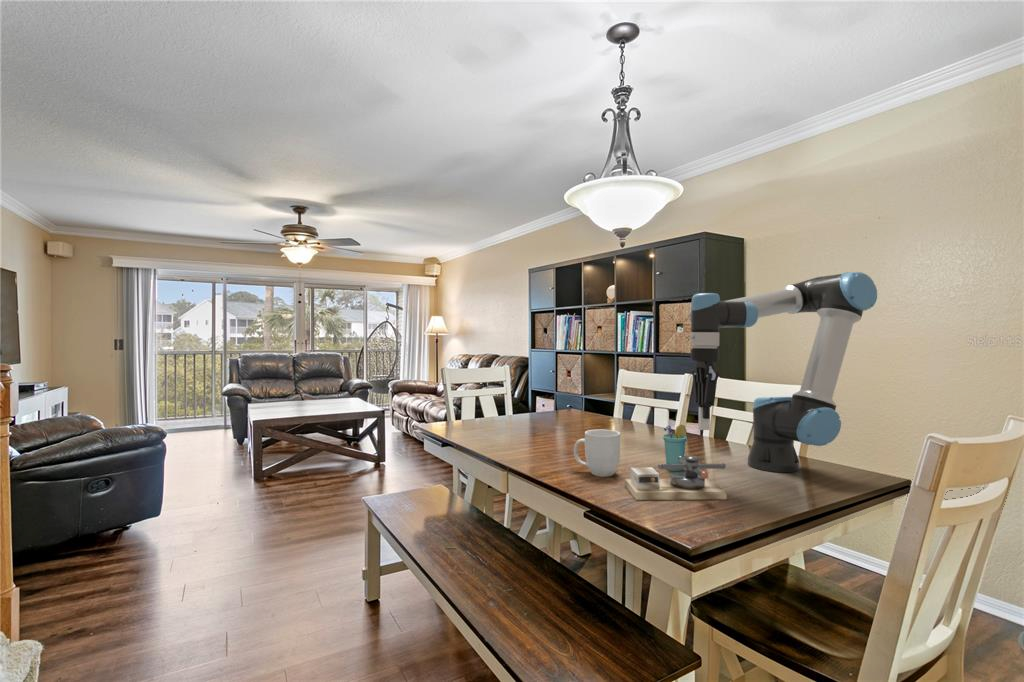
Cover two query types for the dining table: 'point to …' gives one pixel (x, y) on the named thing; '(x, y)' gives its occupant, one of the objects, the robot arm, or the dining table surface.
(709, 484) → the stand
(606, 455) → the mug
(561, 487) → the dining table surface
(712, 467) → the capstan
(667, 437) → the teal pot with plants
